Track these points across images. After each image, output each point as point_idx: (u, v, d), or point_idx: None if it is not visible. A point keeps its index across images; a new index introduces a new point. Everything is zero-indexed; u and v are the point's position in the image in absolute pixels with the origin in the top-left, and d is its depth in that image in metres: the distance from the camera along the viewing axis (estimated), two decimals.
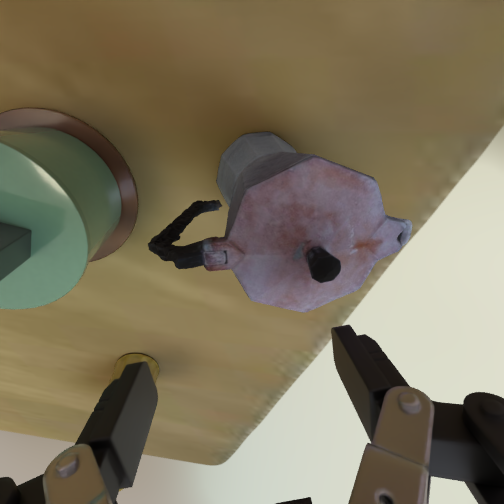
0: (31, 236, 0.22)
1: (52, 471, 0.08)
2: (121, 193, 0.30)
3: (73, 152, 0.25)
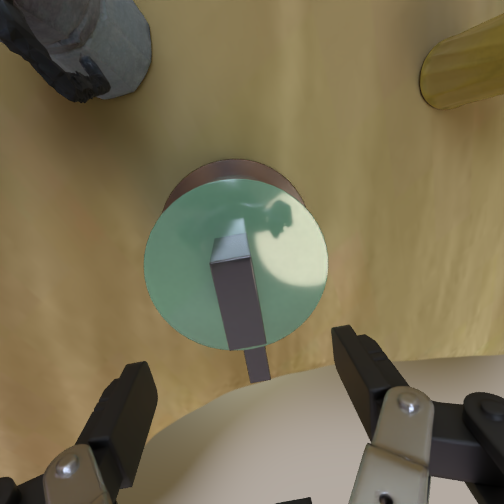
0: (221, 237, 0.21)
1: (52, 471, 0.08)
2: (203, 183, 0.29)
3: None
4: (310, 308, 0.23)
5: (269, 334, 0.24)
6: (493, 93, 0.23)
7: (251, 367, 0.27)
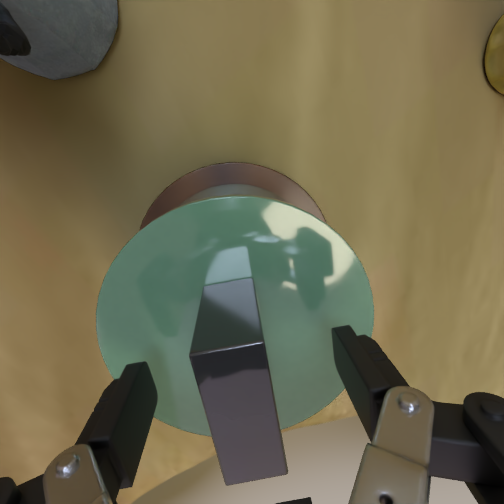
0: (214, 284, 0.14)
1: (52, 471, 0.08)
2: (192, 194, 0.22)
3: None
4: None
5: (284, 416, 0.17)
6: None
7: None
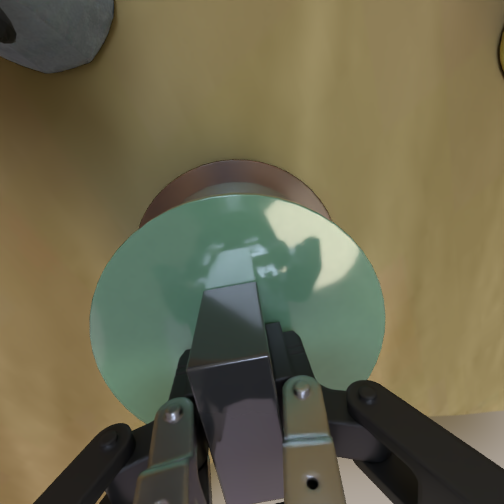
0: (214, 288, 0.13)
1: (162, 412, 0.09)
2: (192, 193, 0.21)
3: None
4: None
5: None
6: None
7: None
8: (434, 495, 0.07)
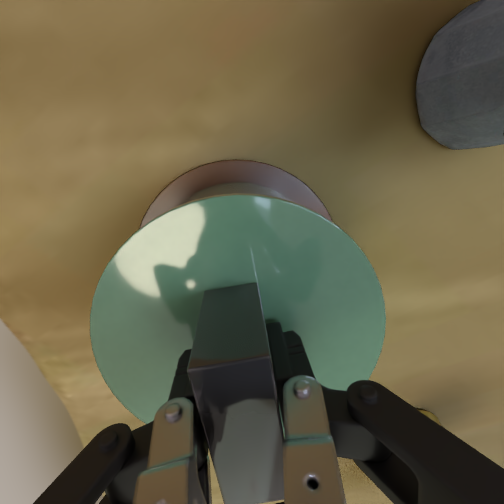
0: (215, 289, 0.13)
1: (162, 412, 0.09)
2: None
3: None
4: None
5: None
6: None
7: None
8: (435, 495, 0.07)
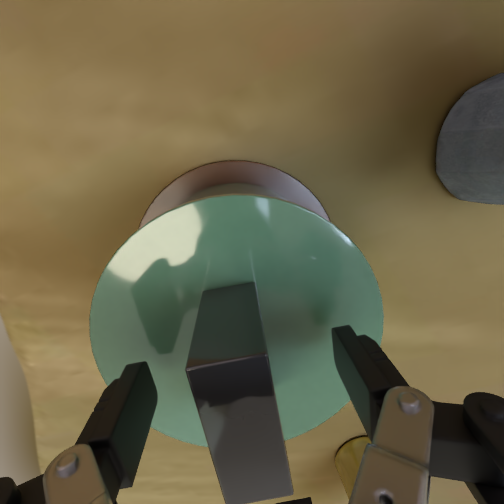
0: (213, 289, 0.13)
1: (52, 471, 0.08)
2: None
3: None
4: None
5: (289, 426, 0.16)
6: None
7: None
8: None
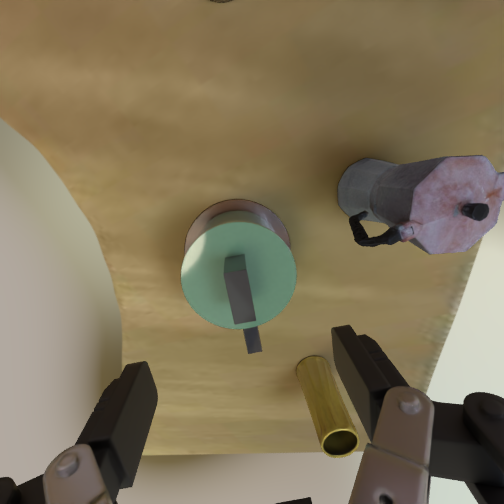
0: (229, 256, 0.34)
1: (52, 471, 0.08)
2: None
3: None
4: (286, 301, 0.36)
5: (260, 318, 0.37)
6: (307, 394, 0.46)
7: (248, 342, 0.40)
8: None
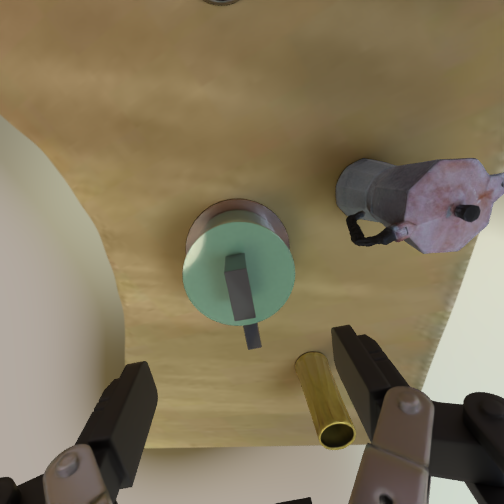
0: (229, 255, 0.35)
1: (52, 471, 0.08)
2: None
3: None
4: (285, 298, 0.37)
5: (259, 315, 0.38)
6: (305, 388, 0.47)
7: (248, 339, 0.41)
8: None
